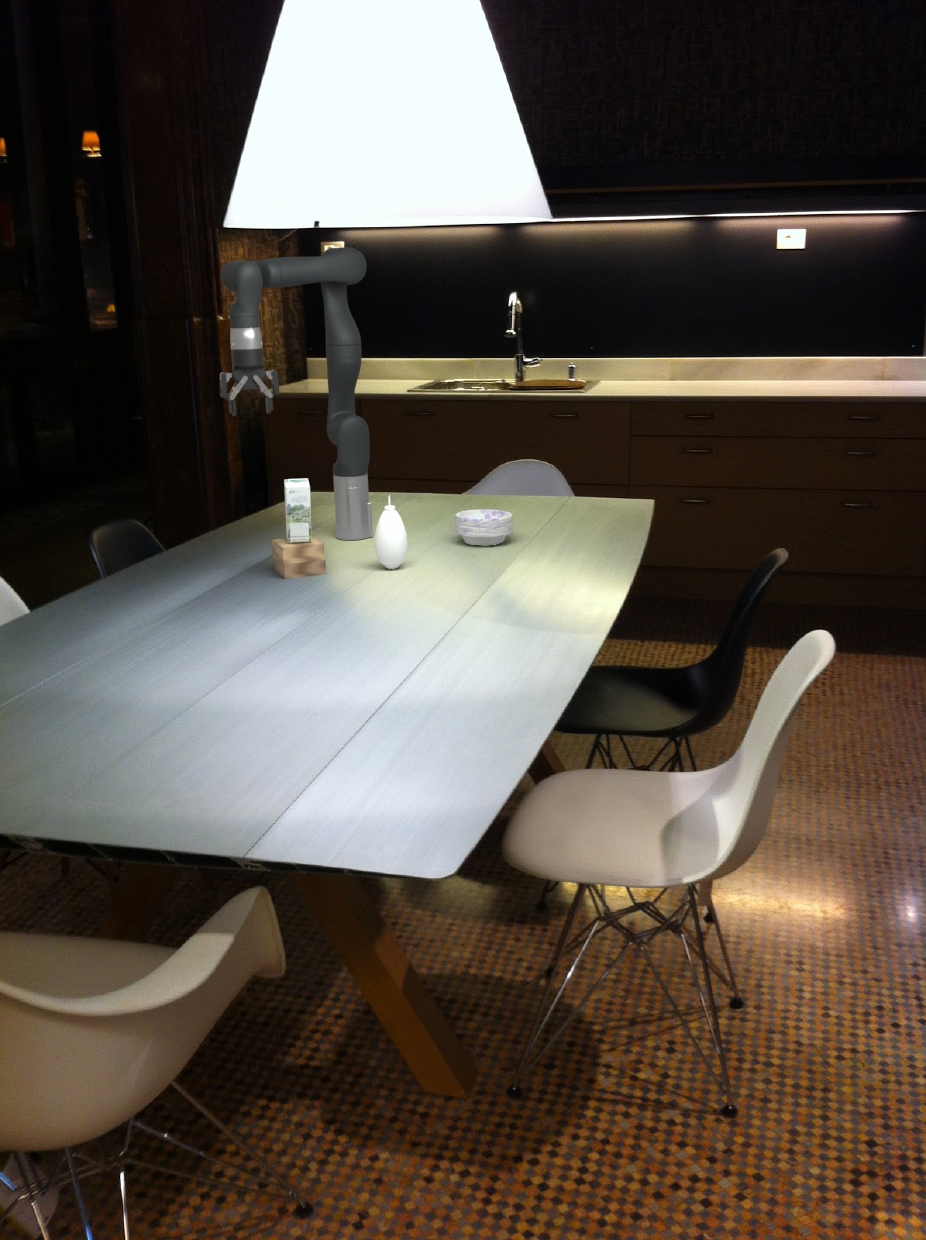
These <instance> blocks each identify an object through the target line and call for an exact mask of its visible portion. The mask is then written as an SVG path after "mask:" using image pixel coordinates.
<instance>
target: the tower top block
mask: <svg viewBox="0 0 926 1240" xmlns="http://www.w3.org/2000/svg"><path fill="white" fill-rule="evenodd" d="M311 539H312V542H306V543H288V540H287V537H286V538H276V539H271V549H272V556H273V558H274V557H275V558H276V559H277V560H279V561H280V562H281V563H282V564H293V563H301V562H310V561H318V560H325V561H326V559H325V546H324V542H322V541H321V540H319V539H318V538H317V537H315V536H313V535H312V534H311Z"/></svg>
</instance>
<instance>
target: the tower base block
mask: <svg viewBox="0 0 926 1240" xmlns="http://www.w3.org/2000/svg"><path fill="white" fill-rule="evenodd" d="M326 563H327V562H326V559H325V560H318V561H310V562H301V563H293V564H282V563H281V562H280V561H279V560H277V559H276V558H275V557H274V556H273V566H274V571H275V572H276V573H277V572H278V573H279V574H278V573H277V574H278V575H280V576H281V577H282V578H283V579H284V580H291V579H300V577H301V578H308V577H307V576H309V577H316V576H323V575H327V566H326Z"/></svg>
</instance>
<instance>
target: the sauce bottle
mask: <svg viewBox="0 0 926 1240" xmlns="http://www.w3.org/2000/svg"><path fill="white" fill-rule="evenodd" d="M391 504H392V503H391V496H390V495H388V505H385V506H384V508H383V512H381V514H380V516H379V518H378V521H377V524H376V527H375V533H374V534H375V535H374V549H375V550H374V551H375V554H376V557H377V559H378V561H379V562H380V564H381V565H382V566H384V567H385V568H386V569H388V570H391V569H392V570H396V569H397V568H399V567H400V565H402V564H403V562H405V559H406V556H407V552H408V535H407V530H406V527H405V525H404V522H403V519H402V517H401V515H400V514H399V512H398V511H397V510H396V506H395V505H393V504H392V505H391Z"/></svg>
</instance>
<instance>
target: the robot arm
mask: <svg viewBox="0 0 926 1240" xmlns="http://www.w3.org/2000/svg"><path fill="white" fill-rule="evenodd" d="M366 272H367V261H366V258H365V256H364V254H363V253H362V252H361V251H359V250H358V249H357V248H353V247H331V248H327V249H325V251H323V253H322V254H321V255H319V256H318V255H317V256H284V257H283V256H282V257H272V258H264V259H261V260H260V259H259V260H233V261H229V262H228V263H226V264H225V265H224V266H223V267H222V269H221V271H220V280H221V284H222V285H223V286H224V287H225V288H226V289H227V290H229V291H232V292H237V294H236V299H235V302H233V303H232V304H231V305H230V306H229V309H228V313H229V325H230V335H229V336H230V337H229V340H230V351H231V353H230V354H231V364H232V366H231V367H232V370H231V372H220V373H219V396H220V397H221V398H223V399H226V400H227V401H228V411H229V413H230V414H231V415H232V416H234V417H236V416H237V415H238V414H237V404H236V403H237V402H236V400H235V399H236V398H237V396H238V393H240V392H241V390H243V391H246V390H247V391H248V390H257V389H259V390H260V391H261V393H263V395H265V411H266V414H272V411H274V401H273V398H274V397H276V396H279V395H280V393H281V391H280V384H279V377H278V371H277V370H275V369H270V370H267V371H266V370H265V367H264V366H265V365H264V352H263V338H262V337H263V336H262V333H261V324H260V323H261V322H260V312H259V309H260V304H261V300H262V299H261V298H262V293H263V292H262V291H263V289H278V288H288V287H295V286H301V285H307V284H309V285H310V284H313V283H314V284H315V283H320V285H321V293H322V299H323V310H324V313H323V314H324V325H325V353H326V355H325V359H326V369H327V370H326V372H327V388H328V389H327V391H328V392H327V394H328V401H327V402H328V404H327V417H326V419H327V421H326V432H327V437H328V439H329V441H330V442H331V443H332V444H333V445H334V446H336V448H337V450H336V451H337V453H336V454H337V456H336V457H337V458H336V462H335V463H334V464H333V465H332V474H333V493H334V494H333V496H334V512H335V514H334V516H335V533H336V538H337V539H338V540H344V541H359V540H365V539H368V538H373V537H374V535H373V517H372V516H373V512H372V510H373V509H372V502H371V501H370V500H369V499H370V498H369V496H370V495H369V478H368V477H369V476H368V475H369V474H368V472H369V471H368V468H369V464H370V459H371V457H370V456H371V454H370V452H371V451H370V449H371V448H370V447H371V446H370V445H371V443H370V442H371V441H370V439H371V438H370V430H369V426H368V424H367V422H366V421H365V420H364V419H365V418H363V417H361V416H358V415H357V414H356V406H355V405H356V403H355V393H356V387H357V383H358V379H359V376H360V371H361V368H362V339H361V333H360V332H359V331H360V330H359V328H358V327H357V324H356V322H355V320H354V318H353V316H352V313H351V311H350V308H349V303H348V295H347V294H348V293H347V291H348V290H347V286H351V285H356V284H358V283H359V282H360V281H362V280H363V278H364V277H365V276H366ZM266 377H268V379H269V380H270V381H271V383H270V384H271V388H272V390H270V389H269V388H268V387H267V386H266V384H265V383H264V380H265V378H266ZM230 379H232V380H233V381H234V385H233V386H232V388H231V390H230V391H229V393H227V392H228V391H227V390H228V388H227V387H228V386H227V385H228V384H227V383H228V382H229V381H230Z"/></svg>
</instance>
